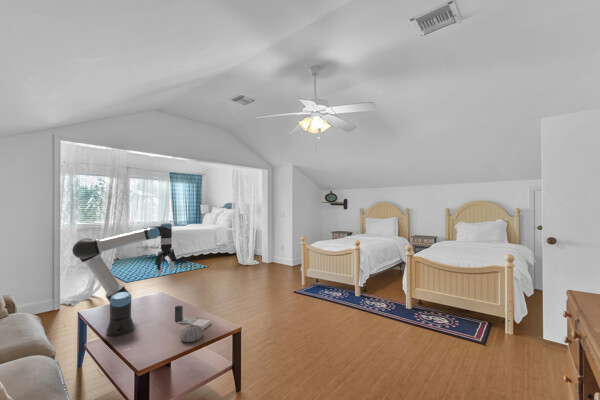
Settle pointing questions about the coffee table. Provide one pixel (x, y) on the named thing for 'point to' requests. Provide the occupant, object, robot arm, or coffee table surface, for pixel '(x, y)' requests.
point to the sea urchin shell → (191, 333)
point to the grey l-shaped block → (180, 318)
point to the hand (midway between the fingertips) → (166, 271)
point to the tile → (202, 323)
